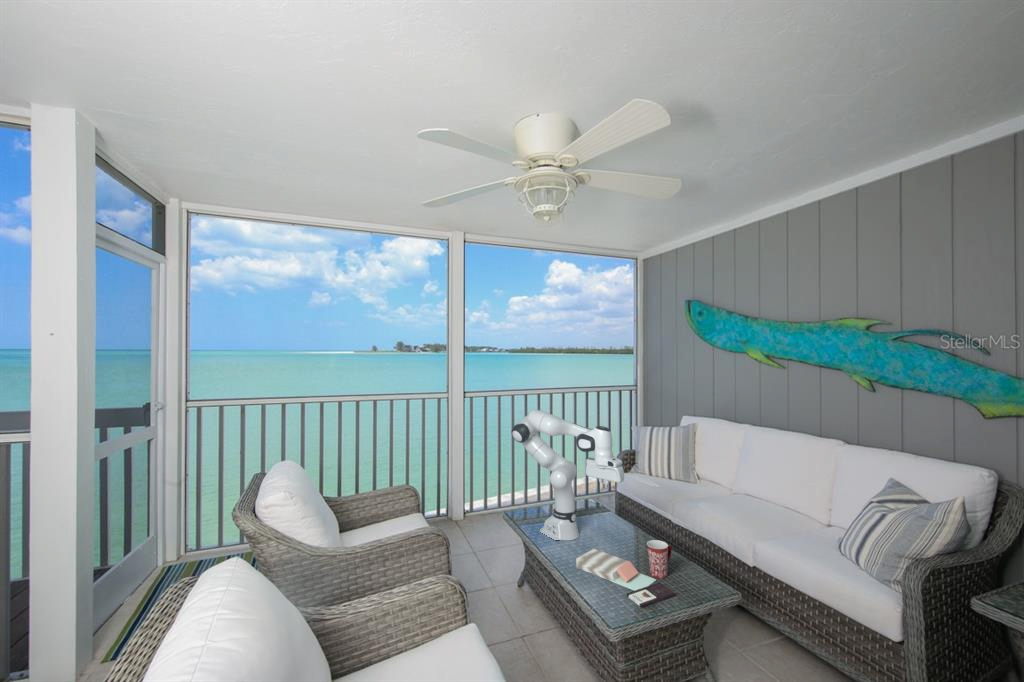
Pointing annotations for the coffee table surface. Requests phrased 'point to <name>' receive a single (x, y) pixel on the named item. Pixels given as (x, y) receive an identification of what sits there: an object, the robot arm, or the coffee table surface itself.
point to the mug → (658, 557)
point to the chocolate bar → (650, 594)
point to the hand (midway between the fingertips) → (604, 488)
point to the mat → (636, 582)
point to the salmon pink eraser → (627, 571)
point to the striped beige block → (600, 564)
